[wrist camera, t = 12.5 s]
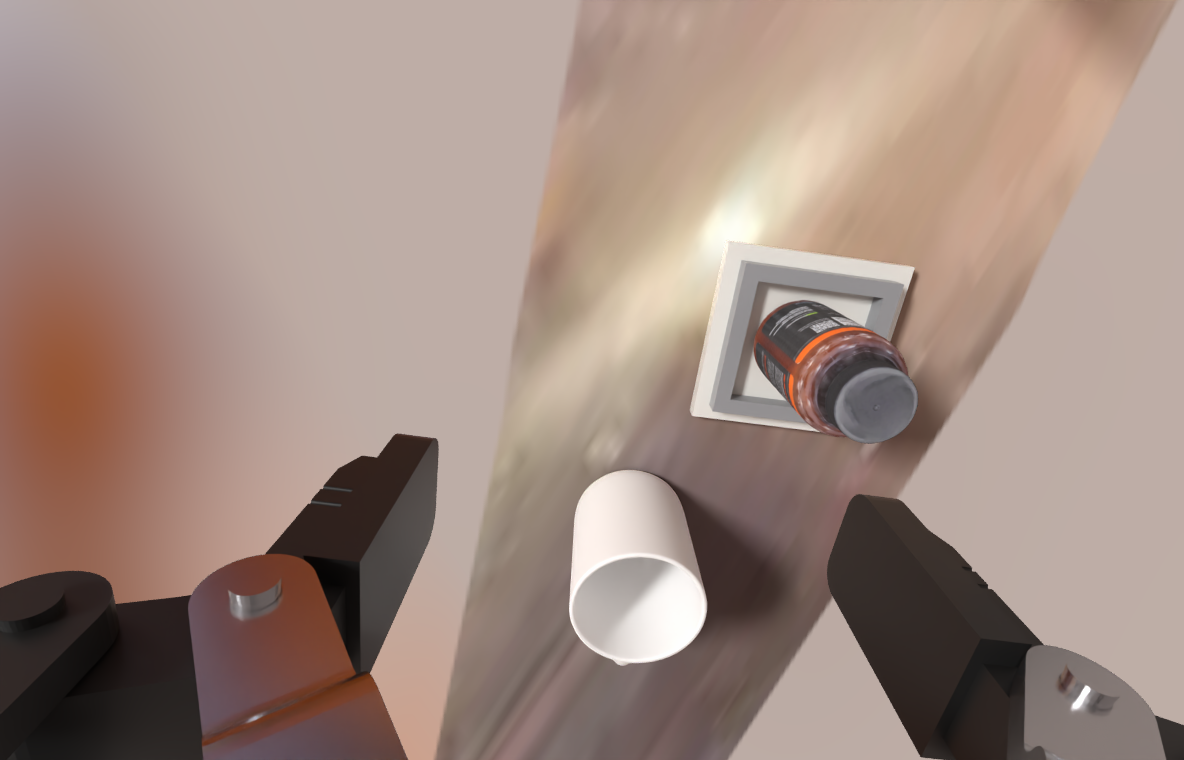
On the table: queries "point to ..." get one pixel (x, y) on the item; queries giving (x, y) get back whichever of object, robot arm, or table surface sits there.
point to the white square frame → (759, 287)
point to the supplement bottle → (835, 372)
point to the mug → (634, 570)
